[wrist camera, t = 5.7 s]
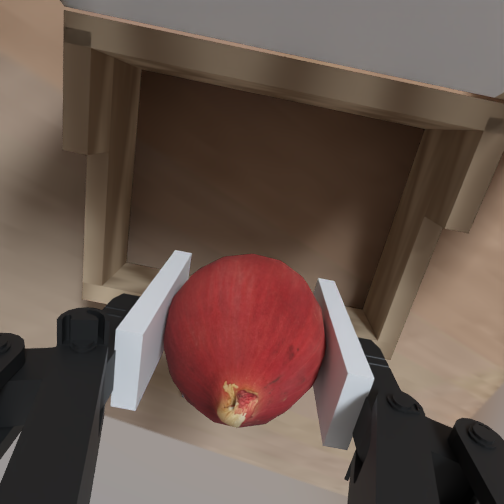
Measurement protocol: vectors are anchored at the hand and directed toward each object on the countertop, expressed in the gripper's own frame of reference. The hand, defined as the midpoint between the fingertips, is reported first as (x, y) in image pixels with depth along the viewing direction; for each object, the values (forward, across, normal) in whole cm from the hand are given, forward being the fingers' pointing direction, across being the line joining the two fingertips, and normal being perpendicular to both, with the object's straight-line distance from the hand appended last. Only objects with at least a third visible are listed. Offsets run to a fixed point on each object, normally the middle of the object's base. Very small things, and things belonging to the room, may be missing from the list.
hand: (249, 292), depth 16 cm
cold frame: (+15, 0, +1) cm, 15 cm away
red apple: (+1, 0, 0) cm, 1 cm away
